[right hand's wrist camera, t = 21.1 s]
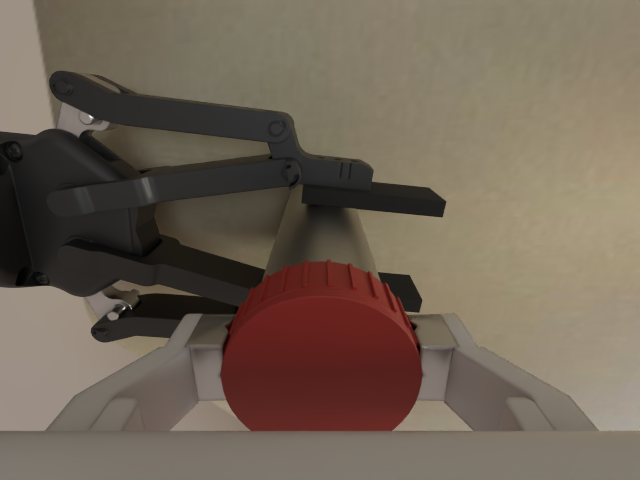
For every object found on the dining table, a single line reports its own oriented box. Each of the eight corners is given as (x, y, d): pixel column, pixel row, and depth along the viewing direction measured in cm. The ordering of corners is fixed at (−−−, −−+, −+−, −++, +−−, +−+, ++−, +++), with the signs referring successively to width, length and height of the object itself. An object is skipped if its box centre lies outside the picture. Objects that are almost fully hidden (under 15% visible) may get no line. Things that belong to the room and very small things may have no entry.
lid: (240, 400, 11) (226, 454, 10) (228, 255, 10) (207, 291, 8) (398, 402, 11) (412, 457, 10) (417, 259, 10) (439, 294, 8)
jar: (357, 176, 23) (417, 299, 9) (349, 238, 24) (389, 428, 10) (289, 170, 23) (239, 285, 9) (286, 233, 24) (239, 418, 10)
